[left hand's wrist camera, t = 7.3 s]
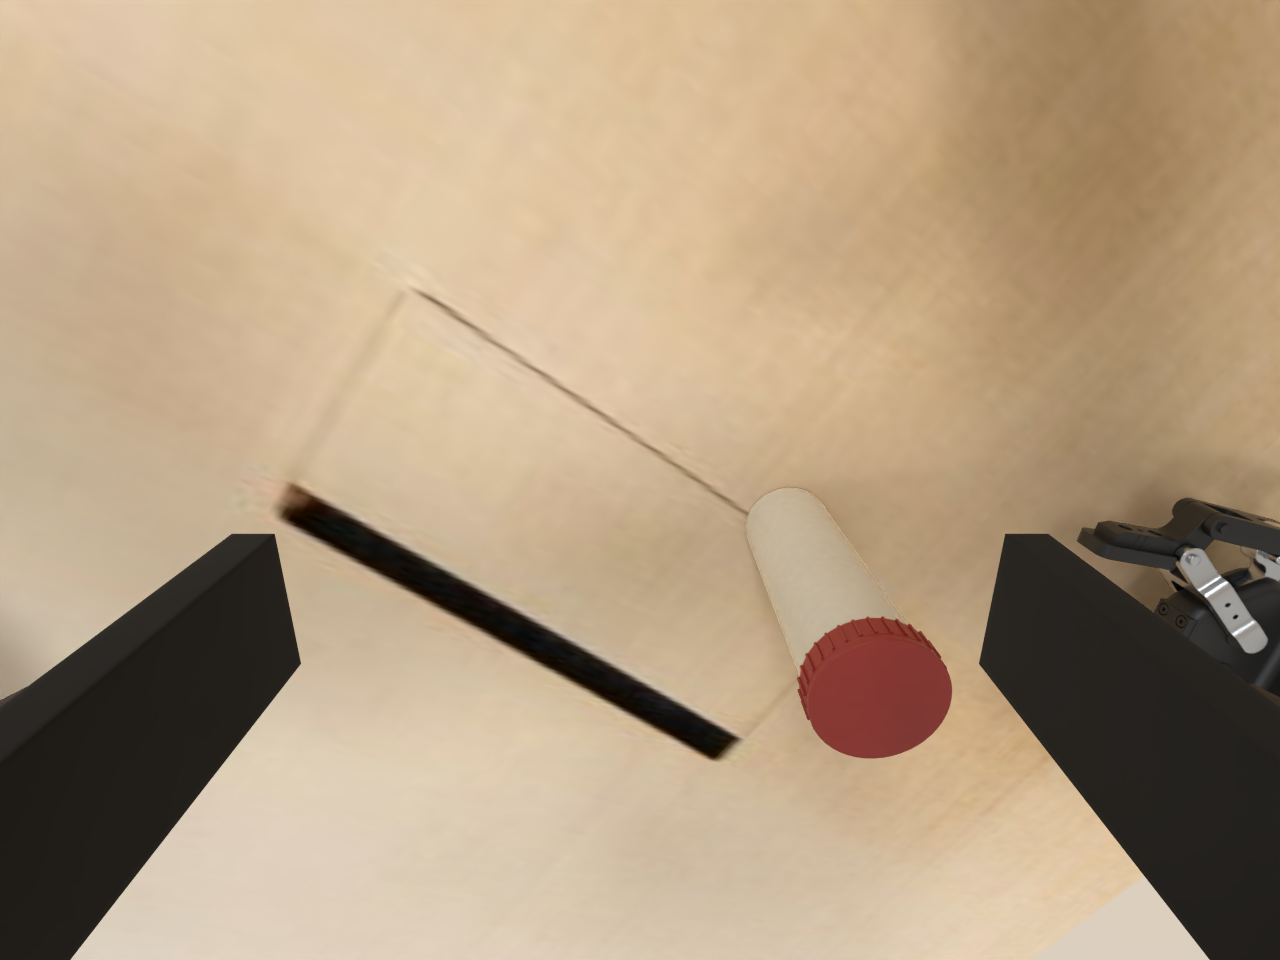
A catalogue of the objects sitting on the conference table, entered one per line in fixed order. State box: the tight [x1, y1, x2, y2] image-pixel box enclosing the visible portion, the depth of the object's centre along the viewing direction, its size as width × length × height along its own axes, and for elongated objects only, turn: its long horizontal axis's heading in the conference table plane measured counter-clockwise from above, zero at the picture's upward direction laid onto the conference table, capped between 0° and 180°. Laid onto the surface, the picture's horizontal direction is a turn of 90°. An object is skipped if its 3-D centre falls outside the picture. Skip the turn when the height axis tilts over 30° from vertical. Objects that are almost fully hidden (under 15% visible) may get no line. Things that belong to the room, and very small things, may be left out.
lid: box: [797, 616, 952, 758], centre depth 26 cm, size 5×5×2 cm
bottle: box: [745, 488, 908, 677], centre depth 33 cm, size 5×5×16 cm
